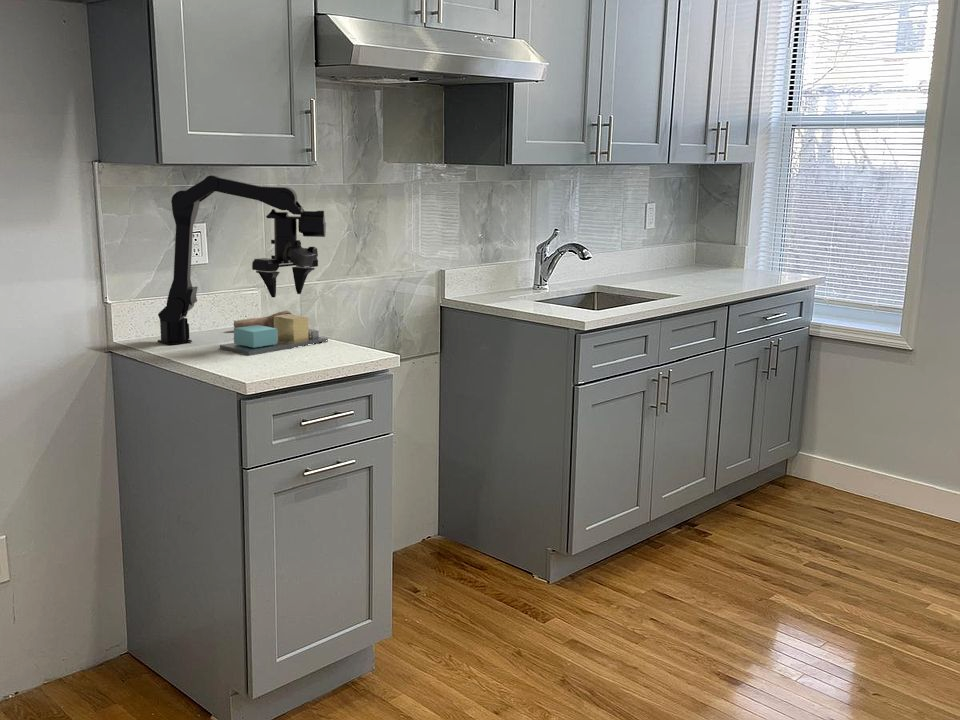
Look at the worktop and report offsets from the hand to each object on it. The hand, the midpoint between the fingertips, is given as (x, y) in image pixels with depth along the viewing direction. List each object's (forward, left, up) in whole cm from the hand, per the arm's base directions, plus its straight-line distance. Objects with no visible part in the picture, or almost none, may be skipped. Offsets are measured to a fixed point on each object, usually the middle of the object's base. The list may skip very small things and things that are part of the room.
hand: (286, 295), depth 249 cm
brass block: (+1, 0, -12) cm, 12 cm away
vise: (-4, 0, -13) cm, 13 cm away
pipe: (+7, +19, -13) cm, 24 cm away
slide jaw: (-10, 0, -12) cm, 15 cm away
